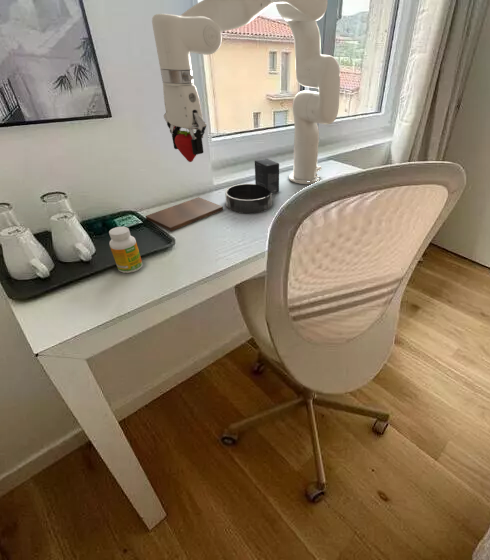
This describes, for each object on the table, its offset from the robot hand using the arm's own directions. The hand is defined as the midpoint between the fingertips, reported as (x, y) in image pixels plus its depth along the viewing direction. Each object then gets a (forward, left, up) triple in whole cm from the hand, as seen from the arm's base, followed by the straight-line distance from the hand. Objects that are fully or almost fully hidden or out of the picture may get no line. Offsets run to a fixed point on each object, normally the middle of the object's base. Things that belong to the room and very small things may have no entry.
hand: (188, 150), depth 91 cm
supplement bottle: (+30, +12, -19) cm, 38 cm away
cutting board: (+3, -2, -19) cm, 19 cm away
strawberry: (0, 0, -3) cm, 3 cm away
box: (-30, +3, -19) cm, 35 cm away
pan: (-16, +7, -19) cm, 26 cm away
